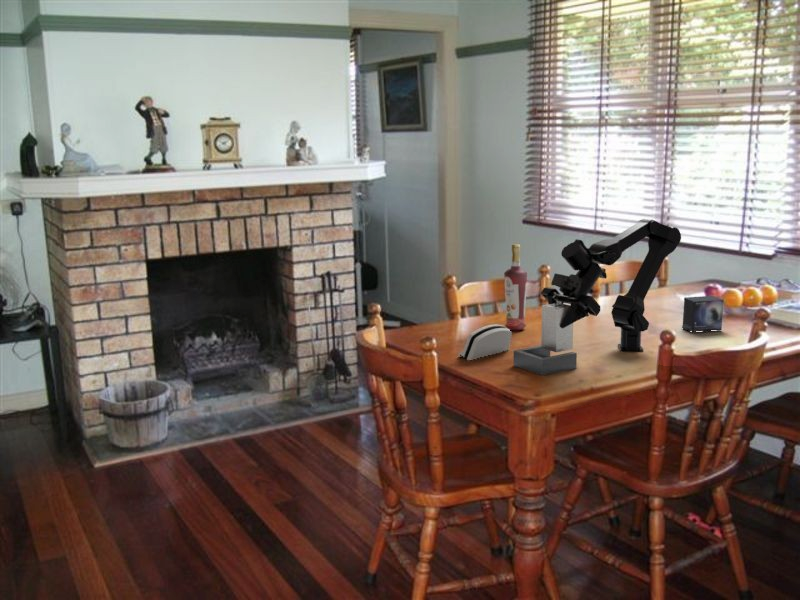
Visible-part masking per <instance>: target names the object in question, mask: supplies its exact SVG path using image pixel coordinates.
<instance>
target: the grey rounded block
mask: <svg viewBox="0 0 800 600" xmlns="http://www.w3.org/2000/svg"><path fill="white" fill-rule="evenodd" d="M512 334H513V331H510V330H509V329H507V327H506V326H505V325H501V324H497V323H496V324H495V323H494V324H488V325H485V326H482V327H480V328H477V329H475V330H474V331H472V332H471V333H469V334H468V336H467V340H466V342H465V345H464V348H463V350H462V351H460V352H459V353H458V357H461V358H466V360H467V361H469V360H472V361H474V360H473V359H475V360H478V359H477V358H479V359H481V358H480V357H482V358H485V357H484V356H486V357H489V356H488V355H490V356H492V354H493V355H496V353H497V354H500V353H504V352H507V350H508V351H509V349H510V344H511V340H512V336H513V335H512ZM503 351H504V352H503ZM462 356H463V357H462ZM458 357H457V358H458Z"/></svg>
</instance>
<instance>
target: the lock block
mask: <svg viewBox="0 0 800 600" xmlns="http://www.w3.org/2000/svg"><path fill="white" fill-rule="evenodd" d="M570 305H571V304H567V303H563V304H562V303H554V304H548V303H547V304H542V305H541V344H540V345H541V348H543V349H547V350H550V352H554V353H560V352H565V351H569V350H570V351H571V350H573V348H574V347H573V346H574V345H573V344H574V323H572V324H570V325H568V326H567V327H565V328H561V327H560V325H561V323H562V321H563V320H564V318H565V316H566V315H567V313H568V311H569V310H570Z"/></svg>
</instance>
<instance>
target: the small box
mask: <svg viewBox="0 0 800 600" xmlns="http://www.w3.org/2000/svg"><path fill="white" fill-rule="evenodd" d="M723 313H724V299H723V298H720V297H717V296H715V295H706V296H688V297H684V299H683V313H682V327H681V329H682V328H683V330H684V329H686V330H685V331H687V330H689V331H692V332H696V331H711V330H722V329H723V328H722V327H723V316H724V315H723ZM689 331H688V332H689ZM722 331H723V330H722Z"/></svg>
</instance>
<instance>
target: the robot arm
mask: <svg viewBox="0 0 800 600" xmlns="http://www.w3.org/2000/svg"><path fill="white" fill-rule="evenodd" d="M645 238H648V240H647V246H648V252H647V254H646V256H645V258H644V259H643V262H642V263H641V265H640V267H639V270H638V271H637V274H636V276H635V277H634V279H633V282H632V283H631V286H630V288H629V290H628V292H627V293H625V294H624V295H621V294H619V295H617V297H616V299H615V302H614V303H613V304H612V306H611V307H612V309H611V317H612V321H613V324H614V327H616V328H620V343H618V344H617V347H618V348H619V350H620V351H621V352H644V348H643V347H642V345H641V343H642V332H645V331H647V330H648V329H649V326H650V322H649V321H648V319H647V318H646V317H645V316H644V313H645V298H646V297H647V294H648V292H649V290H650V289H651V286H652V285H653V282H654V281H655V279H656V276H657V274H658V272H659V270H660V268H661V266H662V264H663V262H664V260H665V258H666V257H668V256H669V255H670V254H672V253H673V252H675V250H676V249H677V247H678V246H679V244H680V243H681V240H682V234H681V231H680V229H679V228H678V227H675V226H669V225H665V224H663V223H660V222H658V221H657V220H655V219H649V218H647V219H646V218H642V219H639V221H638V222H636V223H635V224H632V226H630V227H628V228H626V229H625V230H623V231H622V232H620V233H619V234H617V235H615V236H614V237H612V238H609V239H604V240H600V241H597V242H594V243H592V244H591V245H590V246H589V247H587V246H586V245H585V243H584V241H583V240H582V239H577V238H576V239H575V240H574V241H573V242H570V243H568V244H567V245H566V246H564V247H563V249H562V251H561V253H560V254H561V256H562V258H563V259H564V260H565V261H566V263H567V264H568V265H569V267H570V268H572V270H573V271H577V272H576V274H572V273H571V274H569V275H564V274H561V273H553V277H552V280H551V283H550V284H551V286H556V287H558V288H559V289H558V290H559V291H560V292H561V293H562V294H561V293H560V292H559V291H558V290H557V289H556V288H554V287H549V286H547V287H543V289H542V290H541V291H540V295H541V296H542V298H544V299H545V301H546V302H547V305H548V304H554V303H562V304H567V305H570V310H569V311H568V313H567V315H566V316H565V318H564V320H563V321H562V323H561V325H560V327H561V328H565V327H567V326H568V325H570V324H572V323H573V324H574V323H575V322H577V321H580V320H582V319H583V318H588V317H589V316H594V317H597V316H598V315H599V314H600V312H601V305H600V304H599V302H598V301H597V300H596V299H595V298H594V297H593V296H591V295H592V294H593V293H594V290H593V289H592V288H593V287H594V285H595V284H596V282H597V281H598V280H599V278H600V279H605V280H606V279H607V277H608V276H607V272H606V268H602V266H600V265H604V266H612V265H614V264H615V263H616V262H617V261H618V260H619V259H620V258H621V257H622V254H623V253H624V251H626V250H627V249H630V248H631V247H633V246H634V245H636V244H637V243H638V242H640V241H643V239H645ZM589 294H590V295H589Z"/></svg>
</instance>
